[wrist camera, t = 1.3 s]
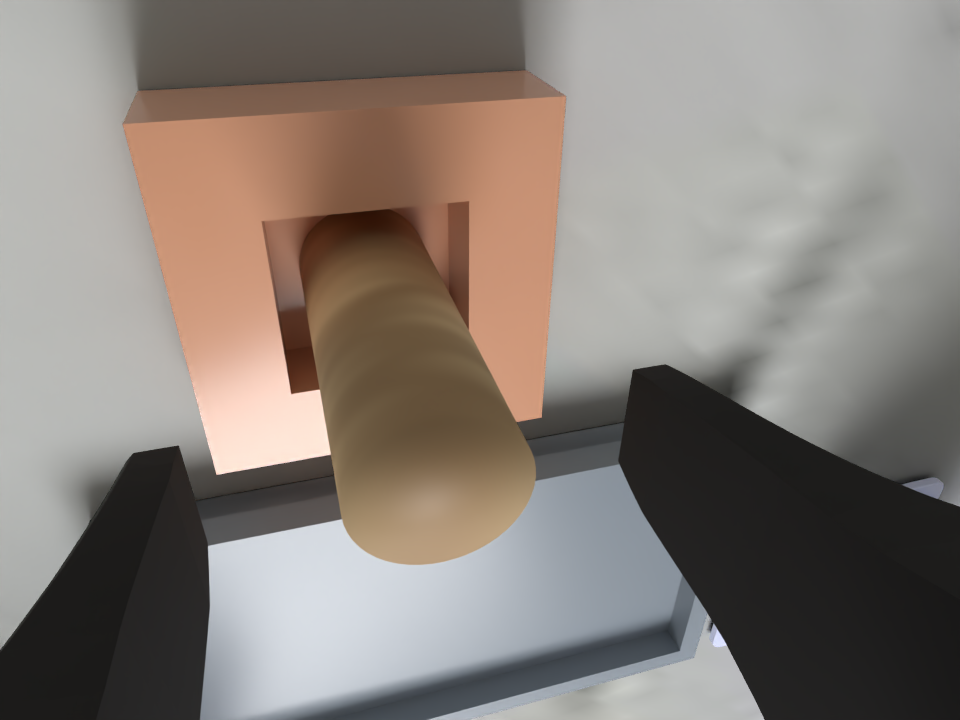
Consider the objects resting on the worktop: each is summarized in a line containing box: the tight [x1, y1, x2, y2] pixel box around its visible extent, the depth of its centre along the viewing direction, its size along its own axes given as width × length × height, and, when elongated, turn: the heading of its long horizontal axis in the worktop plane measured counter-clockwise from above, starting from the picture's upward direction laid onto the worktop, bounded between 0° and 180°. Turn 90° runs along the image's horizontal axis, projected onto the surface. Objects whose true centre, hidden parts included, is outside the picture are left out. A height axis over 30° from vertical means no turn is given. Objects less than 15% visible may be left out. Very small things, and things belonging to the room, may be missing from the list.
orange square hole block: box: [123, 70, 566, 475], centre depth 16 cm, size 8×8×2 cm
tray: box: [90, 423, 707, 720], centre depth 24 cm, size 20×12×2 cm, turn 89°
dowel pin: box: [299, 209, 536, 565], centre depth 14 cm, size 3×3×8 cm
